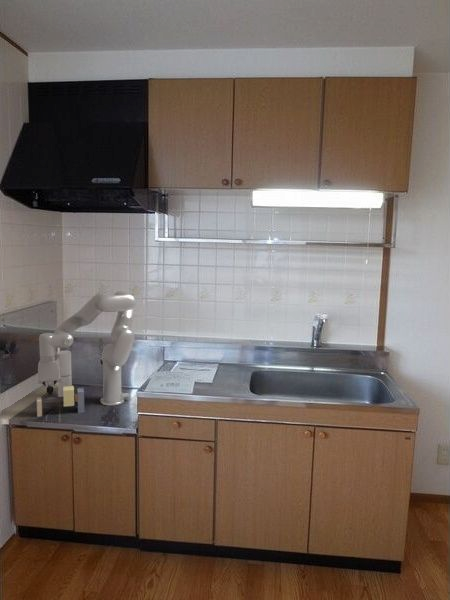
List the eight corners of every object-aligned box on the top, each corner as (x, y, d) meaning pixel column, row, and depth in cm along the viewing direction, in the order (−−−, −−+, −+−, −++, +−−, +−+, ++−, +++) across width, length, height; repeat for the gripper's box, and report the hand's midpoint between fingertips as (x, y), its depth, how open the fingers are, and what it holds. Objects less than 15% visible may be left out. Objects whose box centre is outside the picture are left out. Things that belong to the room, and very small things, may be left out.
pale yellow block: (74, 401, 229) (73, 385, 228) (74, 405, 223) (74, 389, 222) (63, 402, 227) (63, 386, 226) (63, 406, 222) (63, 390, 220)
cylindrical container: (67, 399, 242) (66, 354, 238) (55, 397, 243) (54, 353, 239) (74, 394, 248) (73, 351, 244) (62, 393, 250) (61, 350, 246)
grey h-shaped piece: (83, 407, 231) (83, 387, 229) (84, 412, 226) (84, 391, 224) (37, 412, 224) (37, 391, 222) (37, 417, 218) (36, 395, 216)
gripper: (64, 354, 224) (66, 389, 227) (32, 357, 219) (34, 392, 222) (64, 359, 217) (66, 395, 220) (31, 361, 212) (33, 398, 215)
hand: (50, 393), depth 221 cm, fingers closed
